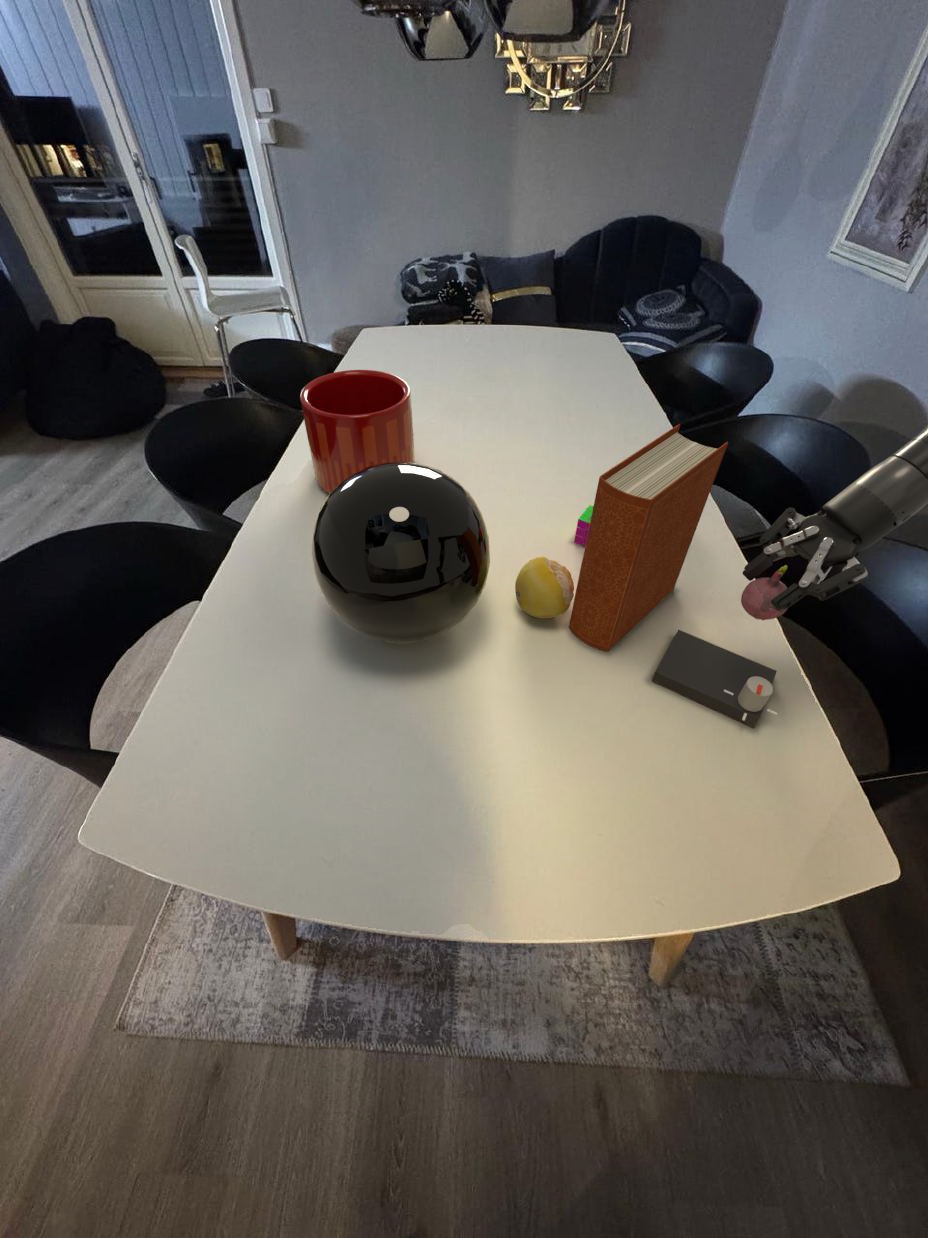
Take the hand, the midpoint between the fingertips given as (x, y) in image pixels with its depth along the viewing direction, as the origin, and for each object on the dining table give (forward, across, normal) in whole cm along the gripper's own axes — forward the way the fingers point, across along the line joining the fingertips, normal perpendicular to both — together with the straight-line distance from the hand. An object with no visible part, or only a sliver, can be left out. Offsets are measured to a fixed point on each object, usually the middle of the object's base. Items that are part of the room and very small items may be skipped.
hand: (760, 591), depth 77 cm
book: (+19, -19, +10) cm, 28 cm away
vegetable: (+3, 0, +6) cm, 6 cm away
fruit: (+28, -23, 0) cm, 37 cm away
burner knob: (+11, +6, +13) cm, 19 cm away
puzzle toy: (+16, -40, +12) cm, 44 cm away
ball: (+45, -28, -17) cm, 56 cm away
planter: (+44, -76, -17) cm, 89 cm away
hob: (+14, +1, +14) cm, 20 cm away
